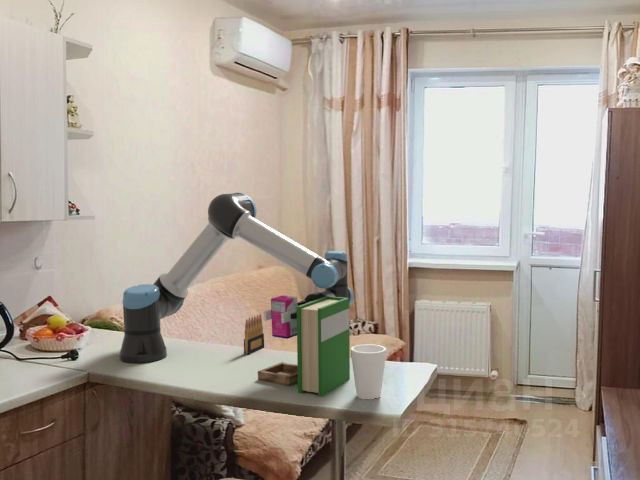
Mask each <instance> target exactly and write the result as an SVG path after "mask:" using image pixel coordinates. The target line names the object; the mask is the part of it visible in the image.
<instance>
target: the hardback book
mask: <svg viewBox="0 0 640 480" xmlns="http://www.w3.org/2000/svg"><path fill="white" fill-rule="evenodd" d="M350 335H351V334H350V306H349V298H343V297H331V296H326V297H323V298H320V299H317V300H314V301H311V302H308V303H306V304H303V305H300V306H297V336H296V343H297V344H296V345H297V346H296V348H297V351H296V352H297V355H296V356H297V358H296V359H297V364H296V365H298V382H297V393H298V394H302V393H304V392H309V393H316V394H318V397H320V398H321V397H324V396H326V395H327V394H329V393H330V392H332V391H333V390H335V389H336V387H337V388H338V387H340V386H342V385H343V384H344V383H346V382H348V381H349V380H350V378H351V371H350V370H351V367H350V365H351V361H350V360H351V347H350V340H351V339H350ZM347 380H348V381H347Z"/></svg>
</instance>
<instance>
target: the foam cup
mask: <svg viewBox="0 0 640 480" xmlns="http://www.w3.org/2000/svg"><path fill="white" fill-rule="evenodd" d="M386 358H387V348H386V347H385V346H383V345H381V344H380V345H378V344H373V343H371V344H370V343H368V344H367V343H364V344H363V343H362V344H356V345H353V346H351V347H350V359H351V363H352V370H353V377H354V385H355V386H354V387H355V393H356V397H357V396H358V397H359V398H358V397H357V398H358V399H360V398H361V400H365V399H373V398H377V397H379V396H380V397H381V395H382V387H383V382H384V374H385V373H384V371H385V365H386Z"/></svg>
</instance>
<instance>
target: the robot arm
mask: <svg viewBox="0 0 640 480" xmlns="http://www.w3.org/2000/svg"><path fill="white" fill-rule="evenodd" d="M257 211H258V210H257V206H256V203H255V200H253V199H252V197H250V196H249V194H248V195H247V194H245V193H243V192H233V193H222V194H219V195H216V196H215V197H214V198H213V199H212V200H211V201H210V203H209V205H208V208H207V214H208V215H207V216H208V217H207V221H208V224H207V225H206V226H204V228H203V230H202V231H201V232H200V233H199V235H198V236H197V237H196V238H195V240H194V241H193V242H192V243H191V244H190V246H189V247H188V248H187V249H186V251H185V252H184V253H183V254H182V255H181V256H180V258H179V259H178V260H177V261H176V263H174V265H173V266H172V268H170V270H169V271H168V272H167V273H161V274H160V275H159V277H158V278H157V279H156V280H155V281H154V283H153V284H151V283H149V284H148V283H147V284H137V285H132V286H130V287H128V288H126V289H125V290H124V292H123V293H122V309H123V313H122V315H123V330H124V331H123V333H124V336H123V339H122V344H121V347H120V350H119V360H120V361H122V362H123V363H124V362H125V363H133V364H134V363H140V364H141V363H151V362H156V361H159V360H162V359H164V358H166V357H167V356H168V355H167V354H168V353H167V346H166V345H165V341H164V338H163V336H162V332H161V320H162V319H164V318H166V317H167V318H168V317H170V316H172V315H174V314H176V313H178V311H179V310H181V308H182V307H183V305H184V302H185V299H186V298H187V297H188V295H189V292H188V291H189V290H188V288H190V286H191V285H192V284H193V283H194V281H196V279H197V278H198V277H199V275H200V274H201V273H202V272H203V270H204V269H206V267H207V266H208V265H209V264H210V262H211V261H212V260H213V259H214V257H215V256H216V255H217V254H218V253H219V252H220V250H221V249H222V248H223V246H224V245H225V244H226V243H227V242H228V241H229V240H235V239H236V238H239V239H241V240H243V241H245V242H246V243H248V244H250V245H252V246H253V247H255V248H257V249H259V250H260V251H262V252H264V253H266V254H267V255H269V256H271V257H273V258H274V259H276V260H277V261H279V262H281V263H282V264H285V265H286V266H288V267H290V269H293V270H294V271H296V272H298V273H300V274H302V275H303V276H305V277H307V278H308V279H310V280H311V282H312V283H313V284H314V285H315V287H317V288H319V289H323V290H320V291H317V292H314V293H309V294H307V296H305V298H304V300H300V301H297V305H298V306H300V305H303V304H306V303H308V302H311V301H314V300H317V299H320V298H323V297H326V296H331V297H343V298H349V307H350V306H352V304H353V303H354V298H355V296H354V295H355V294H354V292H353V290H352V288H350V287H349V285H348V283H349V281H348V280H349V276H348V274H349V272H348V271H349V269H348V267H349V261H348V253H347V252H346V251H343V250H329V251H326V252H325V253H324V257H323V256H320V255H318V253H315V252H313V251H311V250H310V249H308V248H306V247H305V246H303V245H302V244H299V243H298V242H296V241H294V240H293V239H291V238H289V237H287V236H286V235H285V234H283V233H281V232H279V231H277V230H276V229H273V228H272V227H270V226H268V225H267V224H265V223H264V222H261V221H260V220H258V219H256V217H257ZM296 319H297V310H292V311H288V312H285V313H281V322H282V323H286V322H289V321H292V320H296ZM270 320H272V316H271V308H270V309H267V310H264V311H263V321H270Z"/></svg>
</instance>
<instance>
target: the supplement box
mask: <svg viewBox="0 0 640 480" xmlns="http://www.w3.org/2000/svg"><path fill="white" fill-rule="evenodd" d="M297 302H298V296H295V295H293V296H292V295H291V296H289V295H279V296H276V297H271V298H270V309H271V316H272V319H271V334H272V335H271V336H272V337H275V338H279V339H286V340H288V339H291V338H294V337H297V319H296V320H292V321H289V322H286V323H282V322H281V313H285V312H288V311H292V310H297V306H298V305H297Z"/></svg>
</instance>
